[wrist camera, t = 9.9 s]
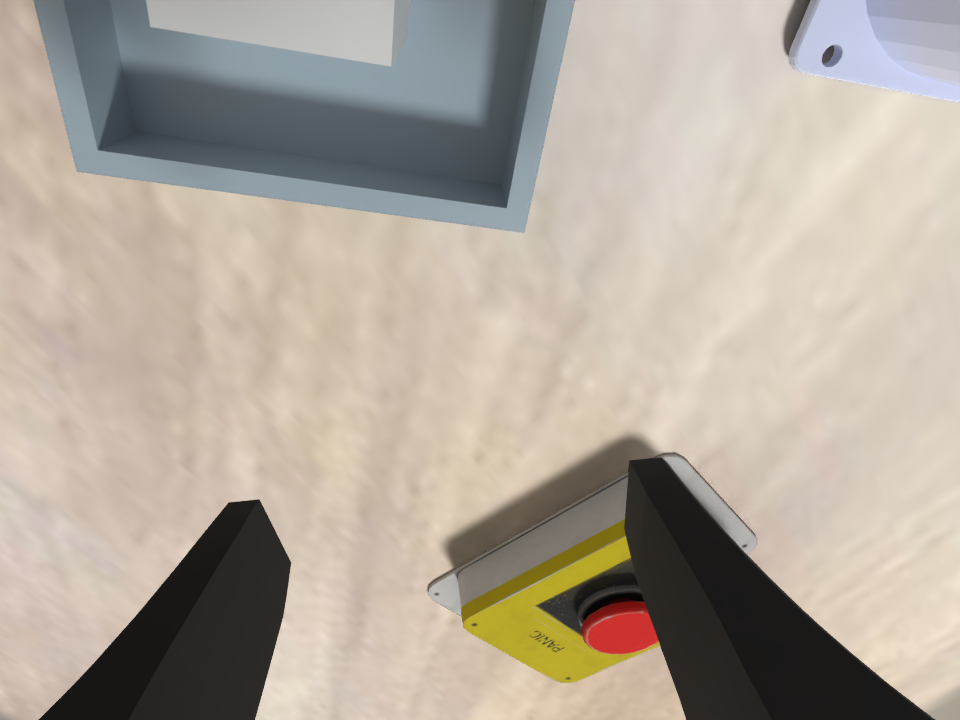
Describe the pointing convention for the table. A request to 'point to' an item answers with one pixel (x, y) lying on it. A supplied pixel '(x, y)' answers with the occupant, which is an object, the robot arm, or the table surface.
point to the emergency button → (570, 584)
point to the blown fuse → (295, 24)
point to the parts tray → (318, 109)
